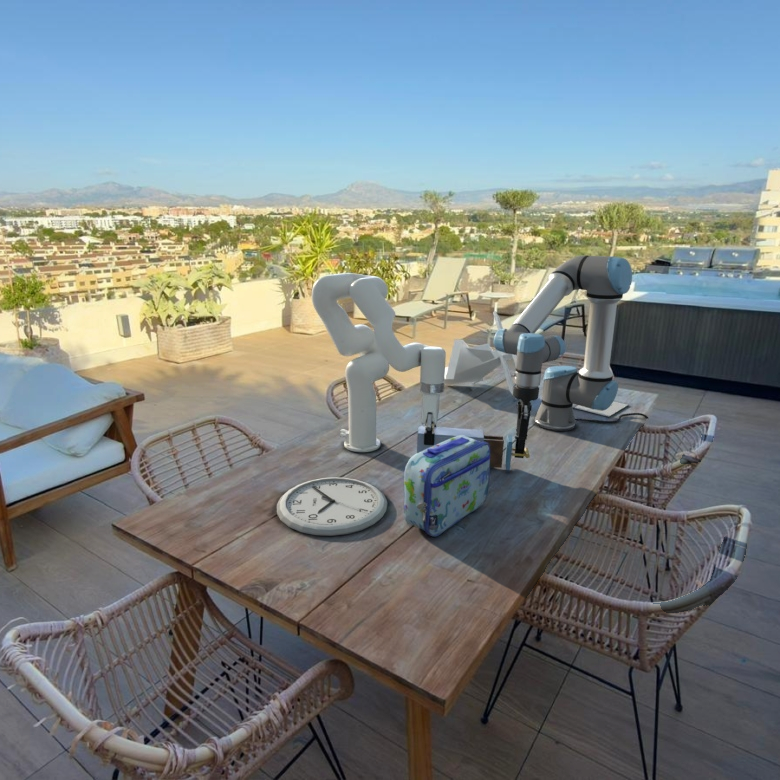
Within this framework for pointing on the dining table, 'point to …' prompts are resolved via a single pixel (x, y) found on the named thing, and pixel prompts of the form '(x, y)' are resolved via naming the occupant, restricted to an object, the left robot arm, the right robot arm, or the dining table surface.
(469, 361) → the white plastic object
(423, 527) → the lunch box
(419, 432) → the cabinet
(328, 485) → the wall clock
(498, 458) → the drawer
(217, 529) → the dining table surface
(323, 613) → the dining table surface
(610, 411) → the invitation card
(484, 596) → the dining table surface
